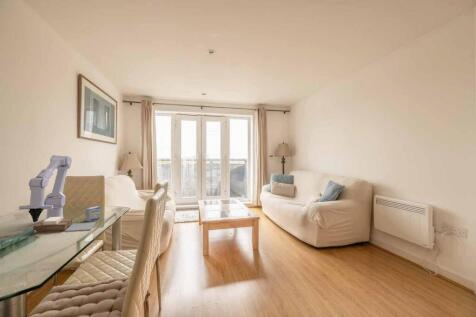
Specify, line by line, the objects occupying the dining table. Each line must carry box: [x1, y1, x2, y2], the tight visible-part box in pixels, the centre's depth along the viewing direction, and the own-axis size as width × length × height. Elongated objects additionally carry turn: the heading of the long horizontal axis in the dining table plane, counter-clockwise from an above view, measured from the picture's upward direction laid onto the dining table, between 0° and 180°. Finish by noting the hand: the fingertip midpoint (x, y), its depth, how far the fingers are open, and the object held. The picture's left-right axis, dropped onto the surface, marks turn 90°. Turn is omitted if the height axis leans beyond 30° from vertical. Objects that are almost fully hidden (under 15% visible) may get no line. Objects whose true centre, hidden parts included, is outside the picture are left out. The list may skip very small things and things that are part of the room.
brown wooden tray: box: [32, 218, 73, 234], centre depth 121 cm, size 12×14×4 cm
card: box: [42, 216, 63, 225], centre depth 121 cm, size 9×6×2 cm, turn 24°
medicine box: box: [84, 205, 101, 222], centre depth 143 cm, size 8×4×9 cm, turn 168°
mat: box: [64, 221, 97, 233], centre depth 127 cm, size 14×12×1 cm
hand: (35, 221), depth 118 cm, fingers closed
